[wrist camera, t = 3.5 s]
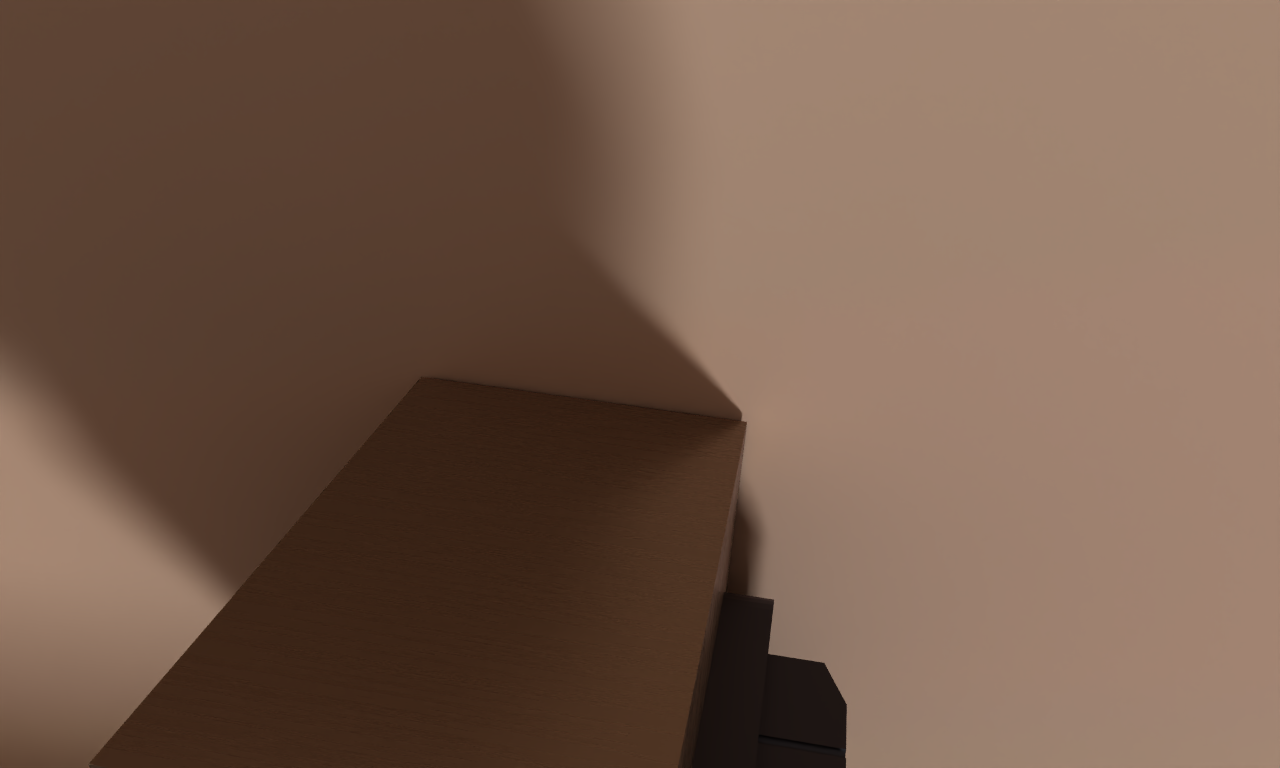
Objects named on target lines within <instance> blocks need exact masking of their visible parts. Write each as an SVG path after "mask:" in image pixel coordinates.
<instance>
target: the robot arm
mask: <svg viewBox="0 0 1280 768" xmlns="http://www.w3.org/2000/svg"><path fill="white" fill-rule="evenodd" d="M773 605H774V600H772V599H766V598H759V597H753V596H746V595H740V594H733V593H727V592H724V596H723V601H722V607H721V612H720V618H719V623H718V628H717V634H716V639H715V645H714V650H713V656H712V661H711V667H710V672H709V677H708V683H707V688H706V694H705V699H704V705H703V710H702V715H701V721H700V726H699V732H698V737H697V743H696V748H695V753H694V759H693V764H692V768H846V758H845V753H846V714H847V704H846V703H845V701H844V699H843V697H842V695H841V693H840V691H839V690H838V688H837V686H836V684H835V682H834V680H833V679H832V677H831V675H830V673H829V671H828V669H827V667H826V666H825V664H824V663H821V662H815V661H809V660H802V659H796V658H790V657H784V656H777V655H771V654H768V649H769V640H770V631H771V623H772V614H773Z"/></svg>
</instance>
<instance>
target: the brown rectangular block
mask: <svg viewBox="0 0 1280 768" xmlns="http://www.w3.org/2000/svg"><path fill="white" fill-rule="evenodd" d="M746 425H747V422H743V421H736V420H728V419H721V418H714V417H707V416H700V415H692V414H685V413H678V412H671V411H663V410H656V409H649V408H642V407H635V406H627V405H620V404H613V403H606V402H598V401H591V400H584V399H577V398H569V397H562V396H555V395H548V394H541V393H533V392H526V391H519V390H512V389H504V388H497V387H490V386H483V385H475V384H468V383H461V382H454V381H447V380H439V379H432V378H425V377H421V378H420V379H419V381H418V382H417V383H416V384H415V385H414V386H413V388H412V389H411V390H410V391H409V392H408V393H407V395H406V396H405V397H404V398H403V399H402V400H401V402H400V403H399V404H398V405H397V406H396V407H395V408H394V410H393V411H392V412H391V413H390V414H389V415H388V417H387V418H386V419H385V420H384V421H383V422H382V424H381V425H380V426H379V427H378V428H377V429H376V431H375V432H374V433H373V434H372V435H371V436H370V438H369V439H368V440H367V441H366V442H365V443H364V445H363V446H362V447H361V448H360V449H359V450H358V452H357V453H356V454H355V455H354V456H353V457H352V459H351V460H350V461H349V462H348V463H347V464H346V465H345V467H344V468H343V469H342V470H341V471H340V472H339V474H338V475H337V476H336V477H335V478H334V479H333V481H332V482H331V483H330V484H329V485H328V486H327V488H326V489H325V490H324V491H323V492H322V493H321V495H320V496H319V497H318V498H317V499H316V500H315V502H314V503H313V504H312V505H311V506H310V507H309V509H308V510H307V511H306V512H305V513H304V514H303V516H302V517H301V518H300V519H299V520H298V521H297V522H296V524H295V525H294V526H293V527H292V528H291V529H290V531H289V532H288V533H287V534H286V535H285V536H284V538H283V539H282V540H281V541H280V542H279V543H278V545H277V546H276V547H275V548H274V549H273V550H272V552H271V553H270V554H269V555H268V556H267V557H266V559H265V560H264V561H263V562H262V563H261V564H260V566H259V567H258V568H257V569H256V570H255V571H254V572H253V574H252V575H251V576H250V577H249V578H248V579H247V581H246V582H245V583H244V584H243V585H242V586H241V588H240V589H239V590H238V591H237V592H236V593H235V595H234V596H233V597H232V598H231V599H230V600H229V602H228V603H227V604H226V605H225V606H224V607H223V609H222V610H221V611H220V612H219V613H218V614H217V616H216V617H215V618H214V619H213V620H212V621H211V623H210V624H209V625H208V626H207V627H206V628H205V629H204V631H203V632H202V633H201V634H200V635H199V636H198V638H197V639H196V640H195V641H194V642H193V643H192V645H191V646H190V647H189V648H188V649H187V650H186V652H185V653H184V654H183V655H182V656H181V657H180V659H179V660H178V661H177V662H176V663H175V664H174V666H173V667H172V668H171V669H170V670H169V671H168V673H167V674H166V675H165V676H164V677H163V678H162V680H161V681H160V682H159V683H158V684H157V685H156V686H155V688H154V689H153V690H152V691H151V692H150V693H149V695H148V696H147V697H146V698H145V699H144V700H143V702H142V703H141V704H140V705H139V706H138V707H137V709H136V710H135V711H134V712H133V713H132V714H131V716H130V717H129V718H128V719H127V720H126V721H125V723H124V724H123V725H122V726H121V727H120V728H119V730H118V731H117V732H116V733H115V734H114V735H113V736H112V738H111V739H110V740H109V741H108V742H107V743H106V745H105V746H104V747H103V748H102V749H101V750H100V752H99V753H98V754H97V755H96V756H95V757H94V759H93V760H92V761H91V762H90V763H89V767H90V768H692V764H693V759H694V753H695V748H696V743H697V737H698V732H699V726H700V721H701V715H702V710H703V705H704V699H705V694H706V688H707V683H708V677H709V672H710V667H711V661H712V656H713V650H714V645H715V639H716V634H717V628H718V623H719V618H720V612H721V607H722V601H723V596H724V592H726V591H727V583H728V575H729V566H730V558H731V550H732V541H733V533H734V525H735V517H736V508H737V500H738V492H739V483H740V475H741V467H742V459H743V450H744V442H745V434H746Z"/></svg>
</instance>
